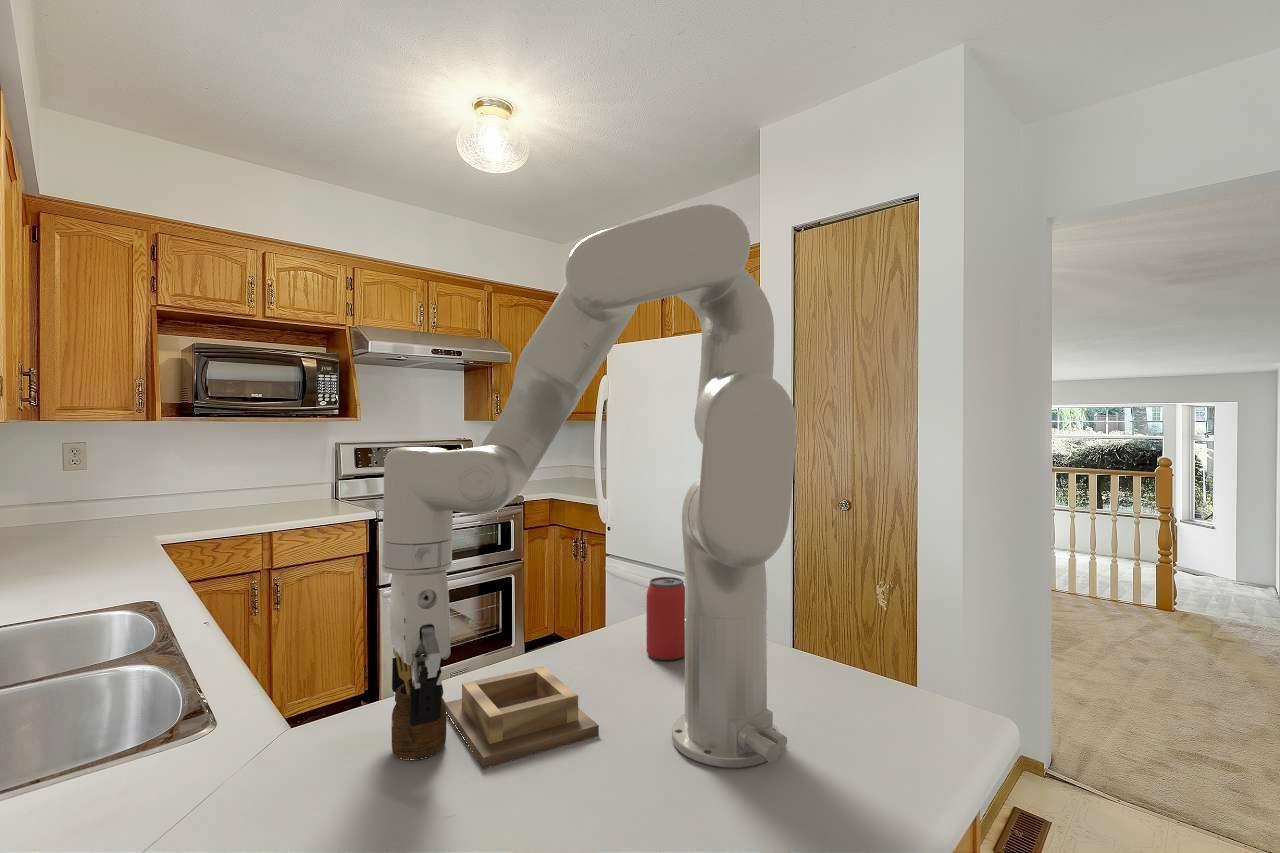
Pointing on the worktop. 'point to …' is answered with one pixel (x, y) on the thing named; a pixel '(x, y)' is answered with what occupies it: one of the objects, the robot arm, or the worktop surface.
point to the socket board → (518, 716)
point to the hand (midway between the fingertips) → (415, 704)
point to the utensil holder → (420, 737)
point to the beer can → (666, 618)
